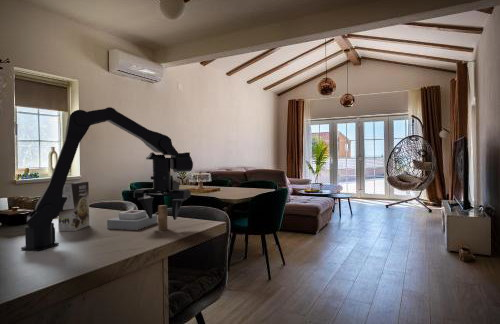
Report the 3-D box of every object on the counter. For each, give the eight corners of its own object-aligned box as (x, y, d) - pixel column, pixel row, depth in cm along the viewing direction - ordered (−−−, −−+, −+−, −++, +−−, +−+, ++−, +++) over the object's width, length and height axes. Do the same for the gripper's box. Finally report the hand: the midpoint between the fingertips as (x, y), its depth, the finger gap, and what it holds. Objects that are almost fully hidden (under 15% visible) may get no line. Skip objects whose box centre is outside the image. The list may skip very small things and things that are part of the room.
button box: (137, 230, 109) (136, 215, 109) (107, 228, 113) (106, 214, 113) (157, 222, 121) (156, 209, 121) (129, 221, 124) (129, 208, 124)
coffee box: (76, 231, 110) (75, 183, 109) (57, 231, 110) (56, 183, 109) (90, 225, 119) (89, 181, 118) (73, 225, 119) (71, 181, 118)
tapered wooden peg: (164, 230, 108) (164, 206, 108) (156, 230, 109) (156, 206, 109) (169, 228, 111) (168, 205, 111) (161, 228, 112) (160, 205, 112)
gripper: (197, 171, 115) (198, 215, 115) (151, 171, 120) (152, 213, 120) (182, 173, 104) (183, 222, 104) (132, 173, 109) (133, 219, 109)
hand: (162, 219), depth 110 cm, fingers open, 9 cm apart
